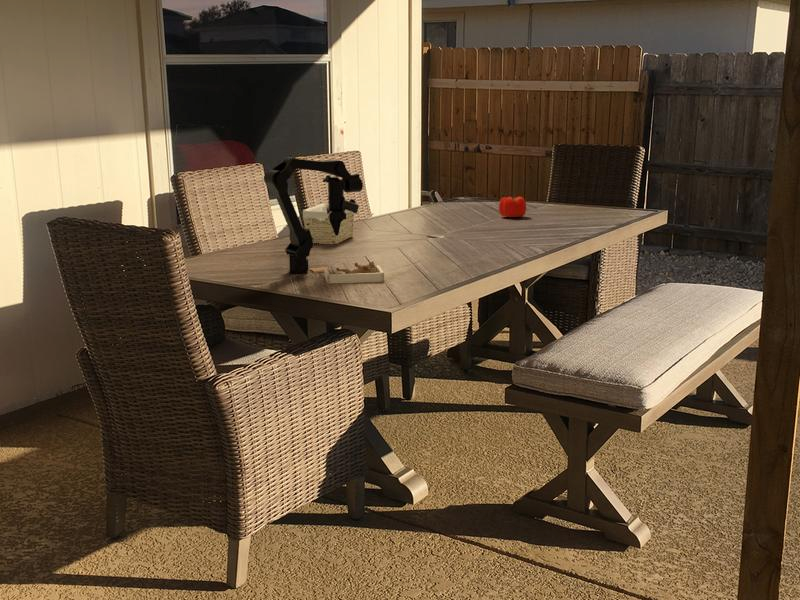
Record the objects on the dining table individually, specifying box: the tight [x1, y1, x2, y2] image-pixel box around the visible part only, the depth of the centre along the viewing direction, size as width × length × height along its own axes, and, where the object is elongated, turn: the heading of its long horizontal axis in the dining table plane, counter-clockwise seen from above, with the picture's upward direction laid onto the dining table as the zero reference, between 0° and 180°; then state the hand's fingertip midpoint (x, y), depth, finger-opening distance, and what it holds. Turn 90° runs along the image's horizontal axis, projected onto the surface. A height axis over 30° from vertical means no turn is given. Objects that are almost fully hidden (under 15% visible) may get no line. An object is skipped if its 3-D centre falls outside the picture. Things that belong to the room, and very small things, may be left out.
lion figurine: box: [335, 261, 378, 274], centre depth 345 cm, size 15×5×9 cm
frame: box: [323, 265, 385, 284], centre depth 344 cm, size 20×14×3 cm
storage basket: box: [302, 202, 355, 245], centre depth 423 cm, size 24×16×15 cm
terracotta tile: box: [308, 266, 331, 274], centre depth 358 cm, size 6×6×1 cm
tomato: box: [498, 196, 527, 218], centre depth 485 cm, size 14×13×10 cm
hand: (336, 235), depth 363 cm, fingers closed
